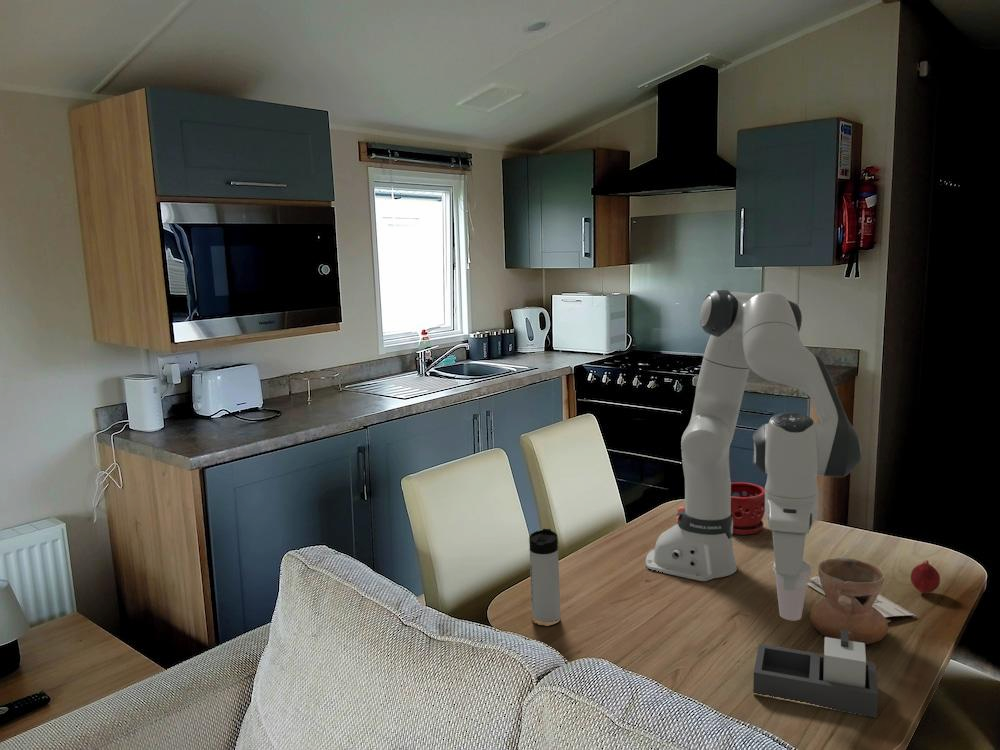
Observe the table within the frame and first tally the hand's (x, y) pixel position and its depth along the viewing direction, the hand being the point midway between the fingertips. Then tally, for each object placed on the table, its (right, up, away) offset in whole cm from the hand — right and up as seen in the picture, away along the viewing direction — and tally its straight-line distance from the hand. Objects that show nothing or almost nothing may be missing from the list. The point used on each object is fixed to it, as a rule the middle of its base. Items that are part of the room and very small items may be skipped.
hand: (790, 579), depth 135 cm
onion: (+44, -13, +36) cm, 58 cm away
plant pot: (+16, -7, +78) cm, 80 cm away
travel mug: (-42, -18, +32) cm, 55 cm away
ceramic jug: (+20, -17, +21) cm, 33 cm away
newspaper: (+28, -15, +34) cm, 47 cm away
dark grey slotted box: (+6, -20, +4) cm, 21 cm away
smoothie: (+1, -7, +1) cm, 7 cm away
